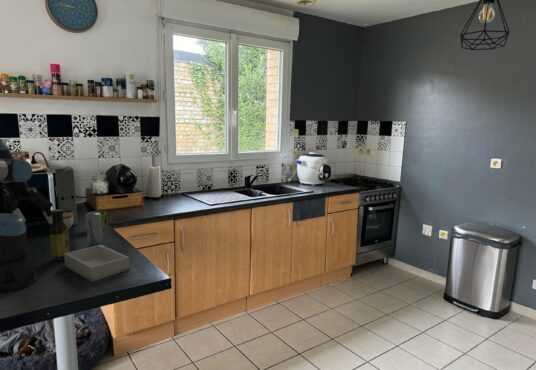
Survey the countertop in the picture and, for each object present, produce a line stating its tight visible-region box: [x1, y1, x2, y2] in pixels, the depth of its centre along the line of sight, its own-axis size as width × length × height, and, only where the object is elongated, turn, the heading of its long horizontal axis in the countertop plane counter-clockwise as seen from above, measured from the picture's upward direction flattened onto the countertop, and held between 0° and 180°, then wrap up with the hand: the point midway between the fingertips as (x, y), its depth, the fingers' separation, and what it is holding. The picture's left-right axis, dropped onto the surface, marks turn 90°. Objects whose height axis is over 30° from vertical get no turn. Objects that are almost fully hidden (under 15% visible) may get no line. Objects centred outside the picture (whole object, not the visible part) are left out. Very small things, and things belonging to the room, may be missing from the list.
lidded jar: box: [50, 212, 73, 230], centre depth 192 cm, size 11×11×9 cm
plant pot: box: [88, 210, 107, 231], centre depth 192 cm, size 9×9×9 cm
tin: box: [84, 211, 104, 248], centre depth 164 cm, size 6×6×15 cm
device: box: [54, 165, 79, 226], centre depth 204 cm, size 16×8×30 cm, turn 33°
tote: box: [64, 245, 130, 283], centre depth 141 cm, size 22×14×5 cm, turn 49°
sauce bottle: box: [49, 208, 71, 262], centre depth 149 cm, size 6×6×20 cm
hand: (37, 222), depth 154 cm, fingers open, 13 cm apart
